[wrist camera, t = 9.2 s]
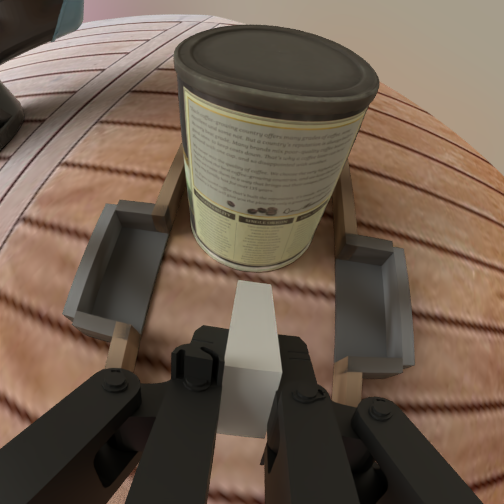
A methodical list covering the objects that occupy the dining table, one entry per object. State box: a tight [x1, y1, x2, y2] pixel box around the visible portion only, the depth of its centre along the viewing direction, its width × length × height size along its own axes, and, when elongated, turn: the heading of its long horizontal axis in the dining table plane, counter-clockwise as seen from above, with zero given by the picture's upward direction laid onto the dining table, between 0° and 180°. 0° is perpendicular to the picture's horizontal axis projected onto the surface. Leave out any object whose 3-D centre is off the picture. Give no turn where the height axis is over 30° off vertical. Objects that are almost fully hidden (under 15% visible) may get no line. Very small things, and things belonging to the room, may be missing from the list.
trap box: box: [62, 143, 415, 407], centre depth 19 cm, size 28×23×4 cm
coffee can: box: [174, 25, 379, 272], centre depth 18 cm, size 10×10×14 cm
